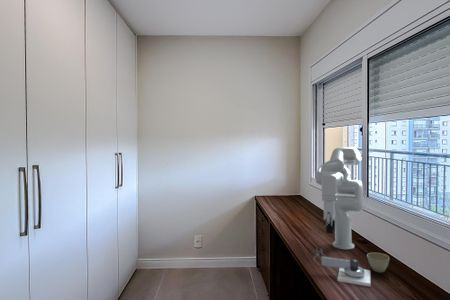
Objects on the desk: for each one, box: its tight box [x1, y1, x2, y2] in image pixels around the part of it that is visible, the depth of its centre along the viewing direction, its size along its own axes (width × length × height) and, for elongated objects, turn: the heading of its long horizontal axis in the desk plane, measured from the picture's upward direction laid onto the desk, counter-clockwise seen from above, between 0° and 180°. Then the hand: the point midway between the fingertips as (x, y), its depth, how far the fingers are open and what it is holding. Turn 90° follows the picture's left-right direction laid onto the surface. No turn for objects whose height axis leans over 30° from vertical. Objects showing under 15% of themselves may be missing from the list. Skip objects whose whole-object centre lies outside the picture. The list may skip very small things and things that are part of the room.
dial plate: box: [336, 268, 371, 287], centre depth 138 cm, size 14×14×2 cm
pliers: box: [312, 247, 328, 263], centre depth 165 cm, size 10×1×20 cm
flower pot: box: [366, 252, 390, 273], centre depth 144 cm, size 10×10×7 cm
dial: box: [320, 255, 365, 278], centre depth 141 cm, size 20×9×6 cm, turn 63°
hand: (330, 230), depth 149 cm, fingers open, 7 cm apart
